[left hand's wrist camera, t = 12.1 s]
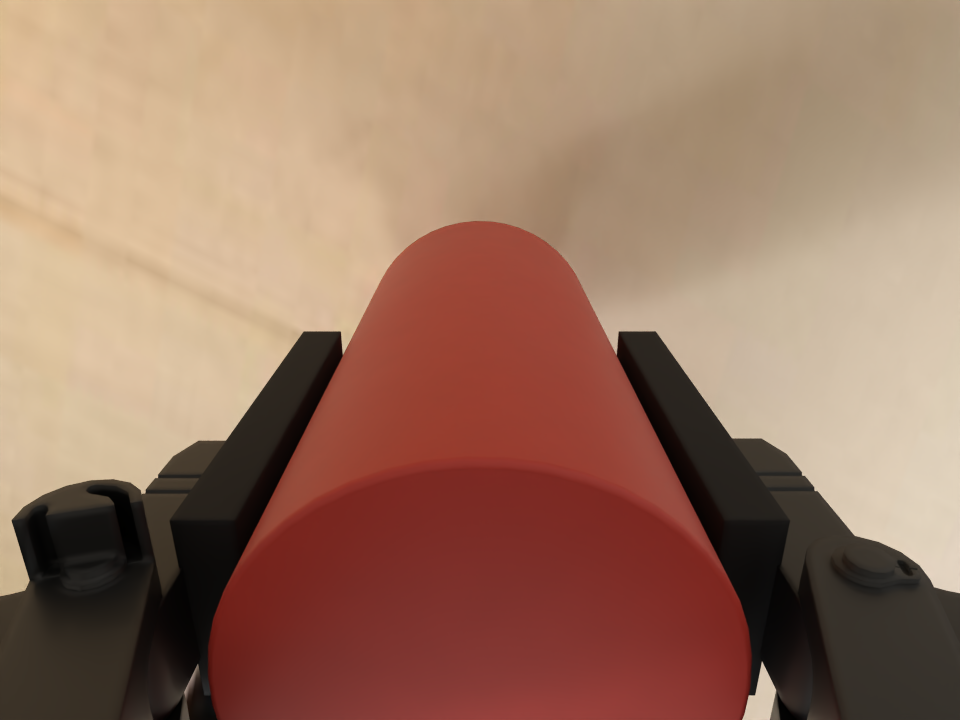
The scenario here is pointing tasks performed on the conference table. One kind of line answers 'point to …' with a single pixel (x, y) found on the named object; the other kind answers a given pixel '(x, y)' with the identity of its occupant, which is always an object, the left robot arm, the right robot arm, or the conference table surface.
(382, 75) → the conference table surface
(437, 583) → the cylinder
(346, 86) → the conference table surface
